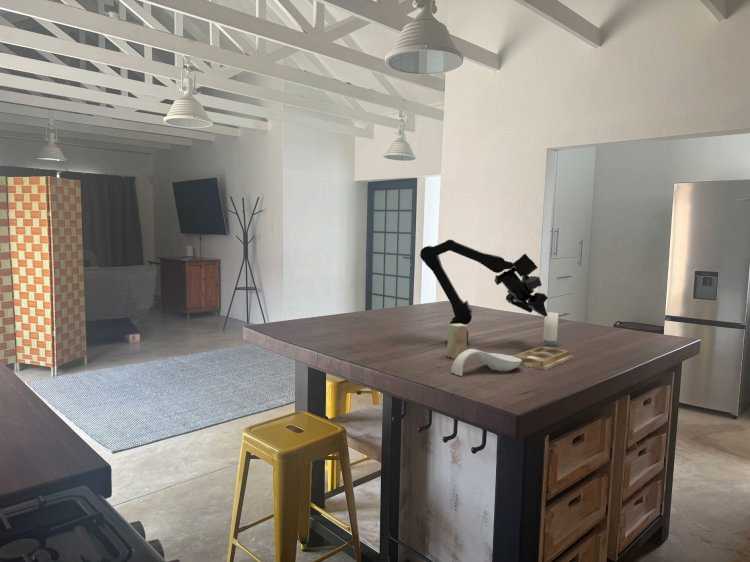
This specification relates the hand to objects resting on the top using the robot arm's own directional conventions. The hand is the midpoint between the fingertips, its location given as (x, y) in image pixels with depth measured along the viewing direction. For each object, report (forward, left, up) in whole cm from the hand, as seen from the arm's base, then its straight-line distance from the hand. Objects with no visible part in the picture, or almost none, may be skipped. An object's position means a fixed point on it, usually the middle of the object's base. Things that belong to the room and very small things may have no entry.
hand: (538, 313), depth 196 cm
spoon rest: (-37, -27, -12) cm, 47 cm away
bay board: (-13, -19, -12) cm, 26 cm away
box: (-38, -10, -12) cm, 41 cm away
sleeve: (+6, 0, -12) cm, 13 cm away
